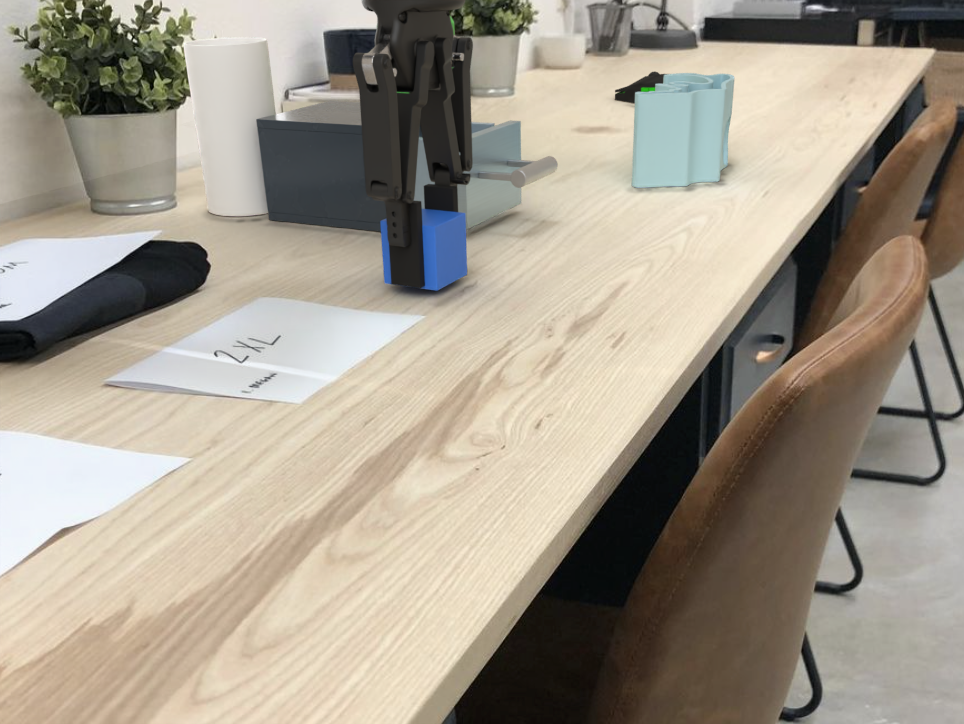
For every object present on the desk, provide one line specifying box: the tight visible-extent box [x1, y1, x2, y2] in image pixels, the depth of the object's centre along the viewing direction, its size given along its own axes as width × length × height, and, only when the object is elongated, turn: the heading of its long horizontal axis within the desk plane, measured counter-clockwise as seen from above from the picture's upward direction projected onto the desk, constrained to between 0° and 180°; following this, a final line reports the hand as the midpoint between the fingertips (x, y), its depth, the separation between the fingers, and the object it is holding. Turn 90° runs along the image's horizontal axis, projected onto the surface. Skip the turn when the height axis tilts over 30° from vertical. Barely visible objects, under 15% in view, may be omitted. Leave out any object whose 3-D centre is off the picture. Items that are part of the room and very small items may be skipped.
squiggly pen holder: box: [631, 72, 736, 189], centre depth 125 cm, size 18×10×9 cm, turn 167°
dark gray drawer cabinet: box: [256, 100, 386, 233], centre depth 112 cm, size 15×13×10 cm
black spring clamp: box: [614, 71, 667, 104], centre depth 174 cm, size 11×16×4 cm
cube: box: [380, 209, 468, 292], centre depth 89 cm, size 5×5×5 cm
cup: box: [183, 36, 277, 217], centre depth 114 cm, size 8×8×16 cm
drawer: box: [414, 119, 558, 230], centre depth 108 cm, size 18×11×8 cm, turn 62°
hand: (426, 275), depth 91 cm, fingers closed on cube, 5 cm apart
